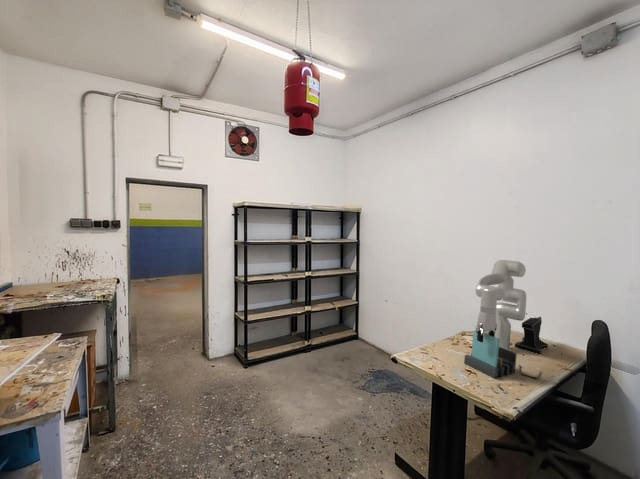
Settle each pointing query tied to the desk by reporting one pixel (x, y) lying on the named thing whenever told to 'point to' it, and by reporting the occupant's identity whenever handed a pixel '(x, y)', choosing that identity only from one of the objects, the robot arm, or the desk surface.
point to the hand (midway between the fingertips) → (485, 340)
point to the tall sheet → (486, 349)
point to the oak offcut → (499, 361)
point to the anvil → (531, 336)
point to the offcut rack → (490, 370)
